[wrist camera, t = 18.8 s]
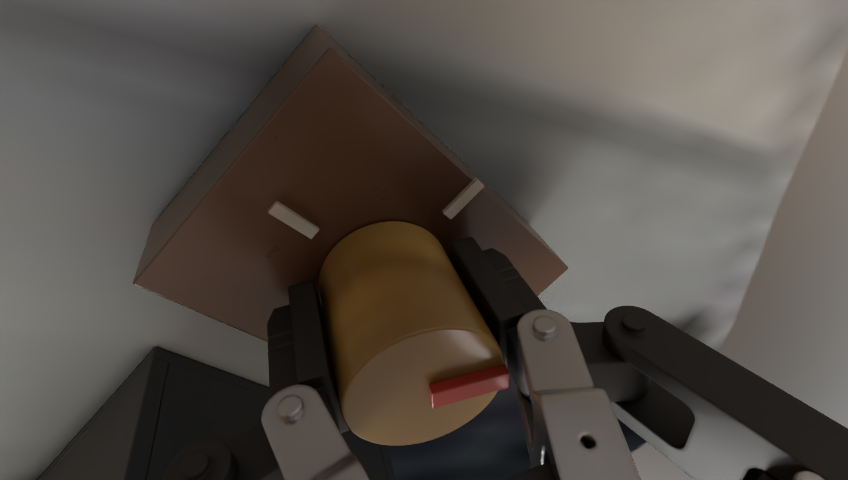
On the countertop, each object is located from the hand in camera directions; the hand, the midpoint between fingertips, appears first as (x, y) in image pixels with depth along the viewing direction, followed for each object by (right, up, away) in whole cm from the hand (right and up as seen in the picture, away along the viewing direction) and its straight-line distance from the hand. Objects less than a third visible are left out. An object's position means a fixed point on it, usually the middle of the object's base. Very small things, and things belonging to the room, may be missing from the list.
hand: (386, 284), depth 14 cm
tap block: (-1, +2, +3) cm, 4 cm away
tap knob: (0, 0, 0) cm, 1 cm away
